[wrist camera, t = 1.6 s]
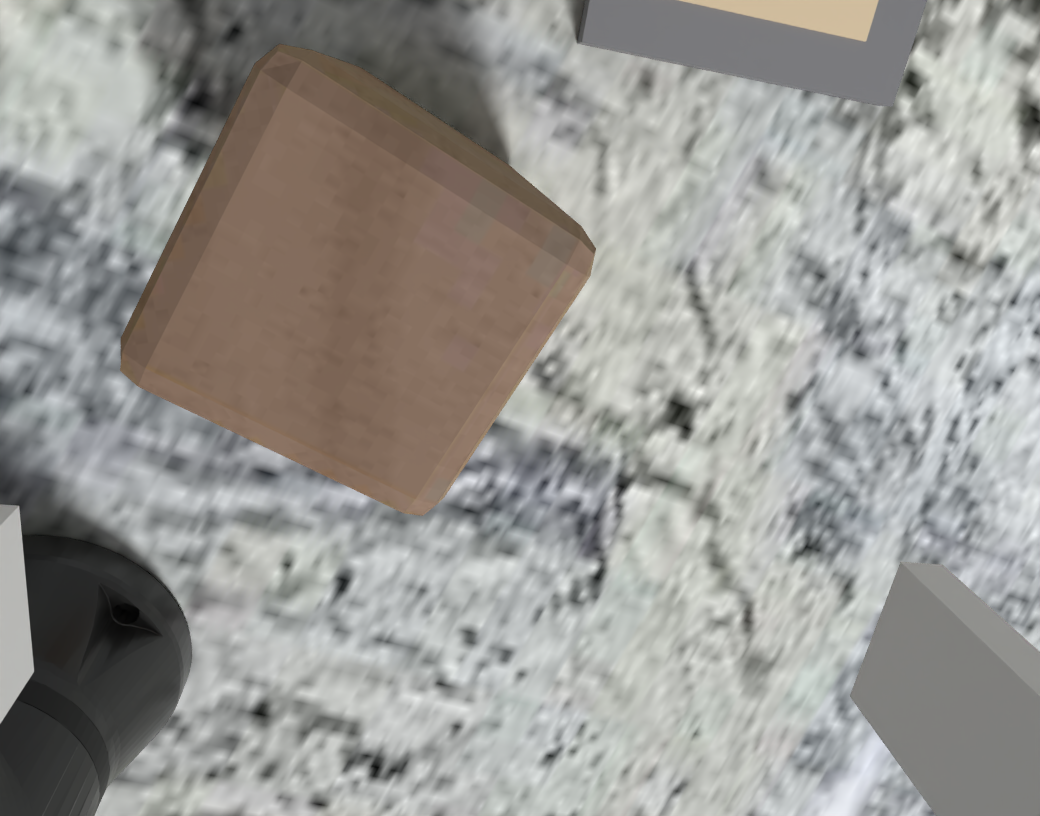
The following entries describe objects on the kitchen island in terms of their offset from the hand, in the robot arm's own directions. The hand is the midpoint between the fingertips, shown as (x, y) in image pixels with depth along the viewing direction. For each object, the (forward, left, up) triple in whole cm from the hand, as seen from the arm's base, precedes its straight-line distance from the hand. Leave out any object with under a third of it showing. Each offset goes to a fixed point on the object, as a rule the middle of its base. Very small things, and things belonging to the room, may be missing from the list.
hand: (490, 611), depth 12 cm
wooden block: (-3, +1, -31) cm, 31 cm away
